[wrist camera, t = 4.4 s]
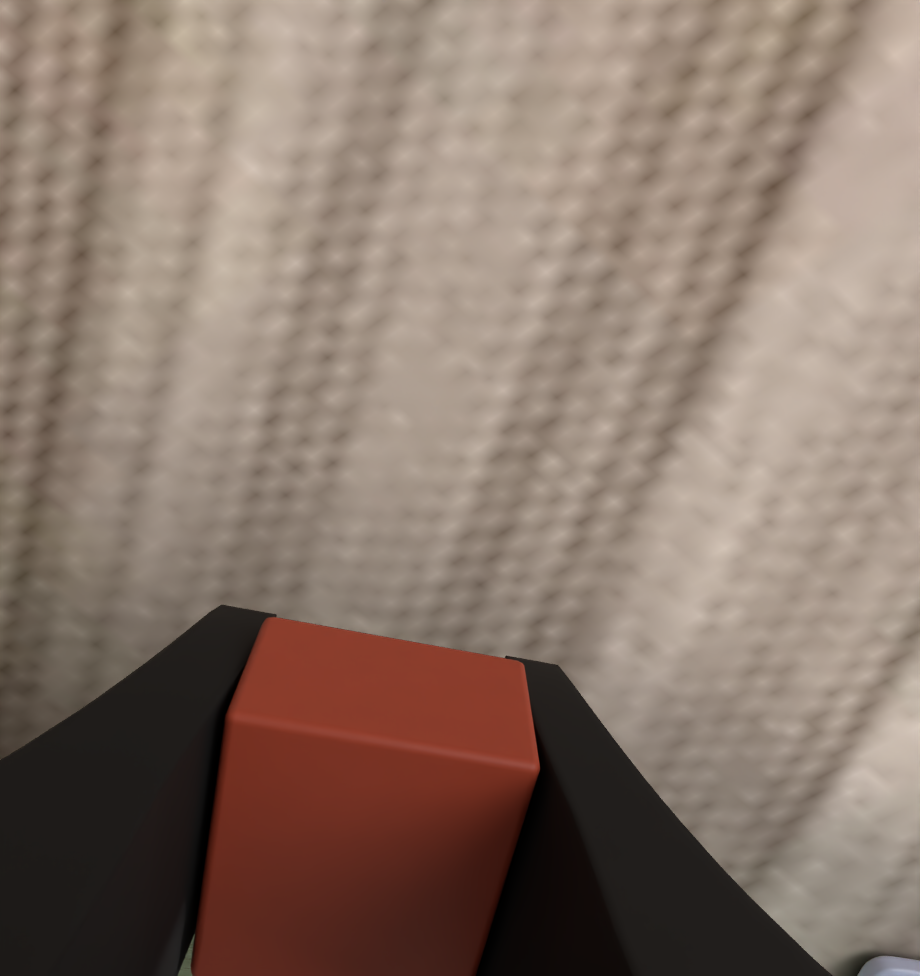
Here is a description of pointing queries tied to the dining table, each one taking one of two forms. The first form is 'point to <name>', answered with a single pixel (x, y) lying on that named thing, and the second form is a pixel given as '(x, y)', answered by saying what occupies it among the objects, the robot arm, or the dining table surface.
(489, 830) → the lever
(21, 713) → the dining table surface
